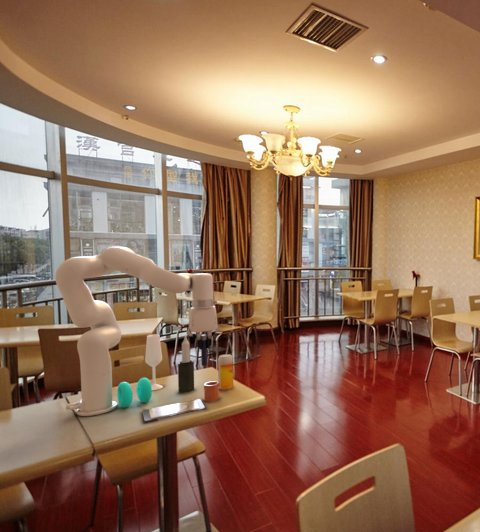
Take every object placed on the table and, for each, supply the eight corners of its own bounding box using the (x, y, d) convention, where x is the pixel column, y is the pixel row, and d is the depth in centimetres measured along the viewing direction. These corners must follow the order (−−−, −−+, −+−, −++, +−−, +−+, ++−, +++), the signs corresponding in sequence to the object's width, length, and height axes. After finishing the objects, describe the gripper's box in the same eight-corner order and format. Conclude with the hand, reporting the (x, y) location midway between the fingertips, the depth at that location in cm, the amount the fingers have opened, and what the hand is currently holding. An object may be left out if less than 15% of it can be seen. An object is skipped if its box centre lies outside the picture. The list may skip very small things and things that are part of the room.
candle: (188, 393, 169) (187, 336, 168) (177, 393, 169) (176, 336, 168) (195, 389, 174) (194, 334, 173) (184, 389, 174) (183, 334, 173)
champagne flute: (146, 386, 178) (145, 334, 177) (163, 384, 181) (162, 333, 180) (144, 391, 172) (143, 337, 171) (162, 388, 175) (161, 336, 174)
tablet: (144, 423, 140) (144, 420, 140) (142, 412, 150) (142, 409, 150) (205, 410, 152) (205, 407, 152) (200, 400, 161) (200, 398, 161)
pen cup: (205, 403, 158) (205, 386, 158) (203, 399, 163) (203, 382, 163) (220, 400, 162) (219, 383, 161) (217, 396, 166) (217, 380, 166)
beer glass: (235, 388, 176) (235, 355, 176) (221, 391, 172) (221, 358, 171) (229, 385, 180) (229, 353, 180) (216, 388, 176) (215, 355, 175)
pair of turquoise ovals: (116, 404, 157) (116, 380, 156) (145, 397, 164) (144, 374, 164) (123, 411, 150) (123, 385, 150) (153, 403, 158) (152, 379, 157)
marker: (202, 365, 158) (201, 335, 158) (201, 364, 160) (200, 334, 159) (207, 365, 159) (207, 335, 159) (206, 363, 161) (206, 334, 161)
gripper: (222, 301, 166) (222, 344, 167) (179, 304, 157) (180, 349, 158) (226, 303, 160) (226, 347, 161) (182, 306, 151) (183, 353, 152)
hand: (204, 348), depth 159 cm, fingers closed on marker, 2 cm apart
